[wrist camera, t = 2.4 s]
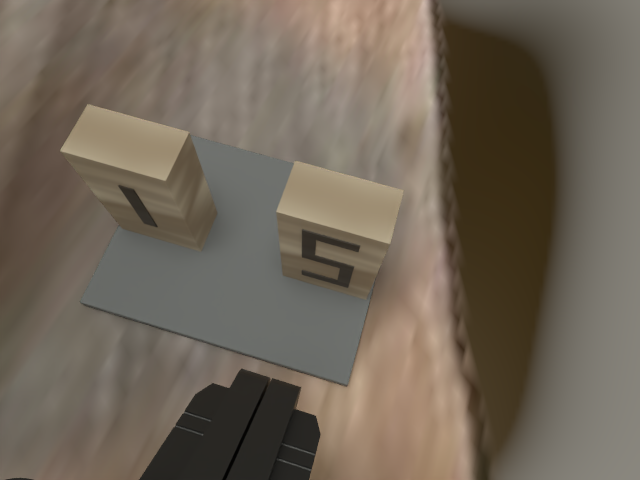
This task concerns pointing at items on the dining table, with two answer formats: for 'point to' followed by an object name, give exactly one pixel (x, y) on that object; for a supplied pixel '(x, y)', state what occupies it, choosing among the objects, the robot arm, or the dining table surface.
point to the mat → (233, 277)
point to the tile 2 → (335, 228)
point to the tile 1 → (143, 175)
